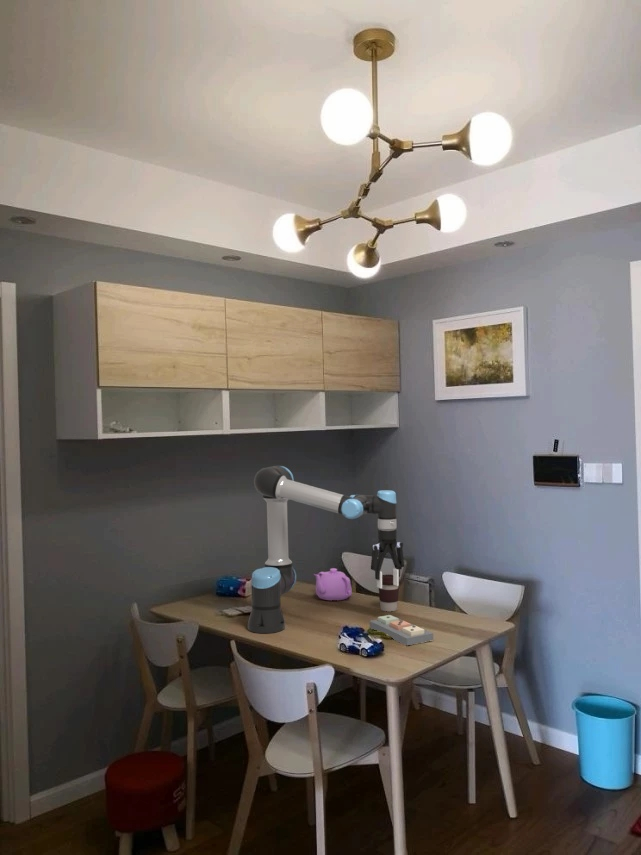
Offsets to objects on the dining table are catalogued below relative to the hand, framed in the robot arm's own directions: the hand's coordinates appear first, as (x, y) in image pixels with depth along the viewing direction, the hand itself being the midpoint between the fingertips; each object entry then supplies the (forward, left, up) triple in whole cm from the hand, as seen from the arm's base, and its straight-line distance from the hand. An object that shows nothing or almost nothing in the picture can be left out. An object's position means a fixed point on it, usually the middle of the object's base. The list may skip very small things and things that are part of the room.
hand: (387, 586), depth 274 cm
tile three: (0, -9, -16) cm, 18 cm away
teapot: (+3, +54, -17) cm, 56 cm away
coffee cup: (+16, +24, -17) cm, 33 cm away
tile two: (0, -17, -16) cm, 23 cm away
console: (0, -8, -17) cm, 19 cm away
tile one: (0, 0, -16) cm, 16 cm away
